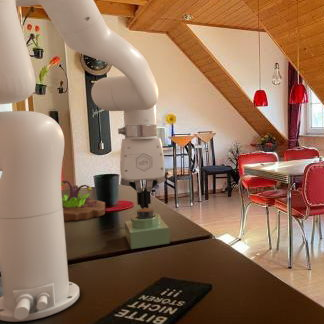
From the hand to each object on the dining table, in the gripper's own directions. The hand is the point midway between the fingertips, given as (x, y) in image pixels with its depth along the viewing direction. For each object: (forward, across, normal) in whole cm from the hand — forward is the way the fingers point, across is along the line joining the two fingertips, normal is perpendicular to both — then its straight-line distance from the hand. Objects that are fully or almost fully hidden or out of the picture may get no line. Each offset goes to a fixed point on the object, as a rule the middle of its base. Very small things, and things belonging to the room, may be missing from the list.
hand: (144, 207), depth 95 cm
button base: (+8, 0, 0) cm, 8 cm away
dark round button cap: (+3, 0, 0) cm, 3 cm away
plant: (+8, -17, +40) cm, 44 cm away
